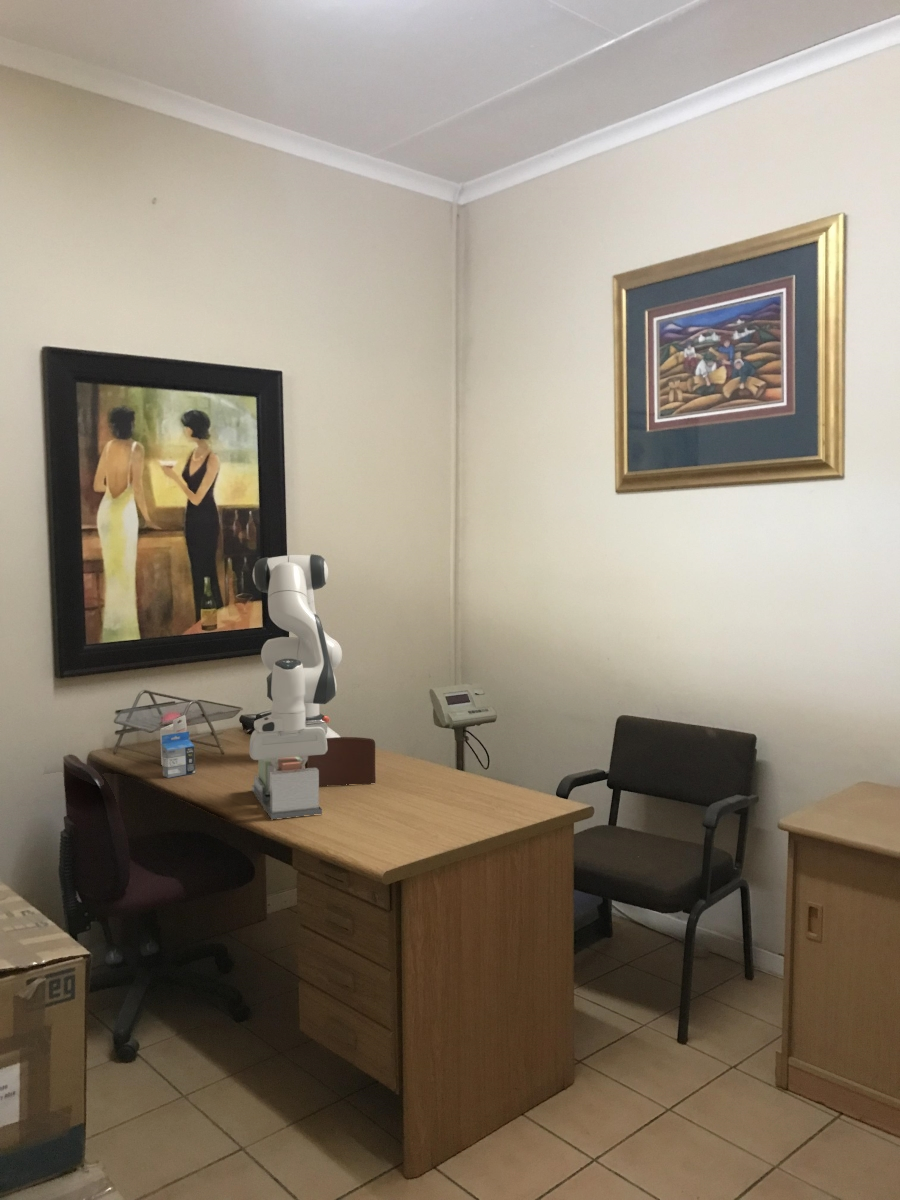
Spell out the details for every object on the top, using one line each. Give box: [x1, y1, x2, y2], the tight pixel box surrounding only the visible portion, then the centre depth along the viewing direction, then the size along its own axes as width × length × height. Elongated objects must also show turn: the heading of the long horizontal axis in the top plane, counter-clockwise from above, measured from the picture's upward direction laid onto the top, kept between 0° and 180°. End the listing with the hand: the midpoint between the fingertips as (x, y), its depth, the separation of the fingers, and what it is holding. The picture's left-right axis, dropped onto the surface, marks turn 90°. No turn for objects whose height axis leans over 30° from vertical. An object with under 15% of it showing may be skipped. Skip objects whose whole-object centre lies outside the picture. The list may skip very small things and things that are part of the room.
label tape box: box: [161, 730, 196, 779], centre depth 282 cm, size 9×4×12 cm, turn 131°
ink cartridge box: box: [159, 714, 188, 765], centre depth 295 cm, size 9×5×15 cm, turn 168°
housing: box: [278, 757, 300, 771], centre depth 248 cm, size 4×7×7 cm, turn 21°
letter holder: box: [304, 736, 377, 787], centre depth 275 cm, size 10×20×14 cm, turn 101°
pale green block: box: [257, 757, 301, 795], centre depth 261 cm, size 12×10×9 cm
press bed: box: [251, 767, 323, 820], centre depth 254 cm, size 29×13×12 cm, turn 21°
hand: (289, 773), depth 248 cm, fingers closed on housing, 4 cm apart
